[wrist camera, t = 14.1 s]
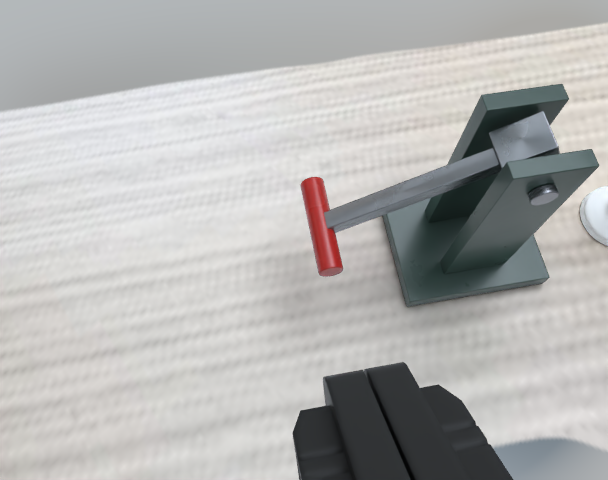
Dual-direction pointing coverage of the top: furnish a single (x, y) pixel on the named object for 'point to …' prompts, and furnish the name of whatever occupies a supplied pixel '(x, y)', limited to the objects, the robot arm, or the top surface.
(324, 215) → the lever
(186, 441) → the top surface
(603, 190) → the chess piece
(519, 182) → the bracket
